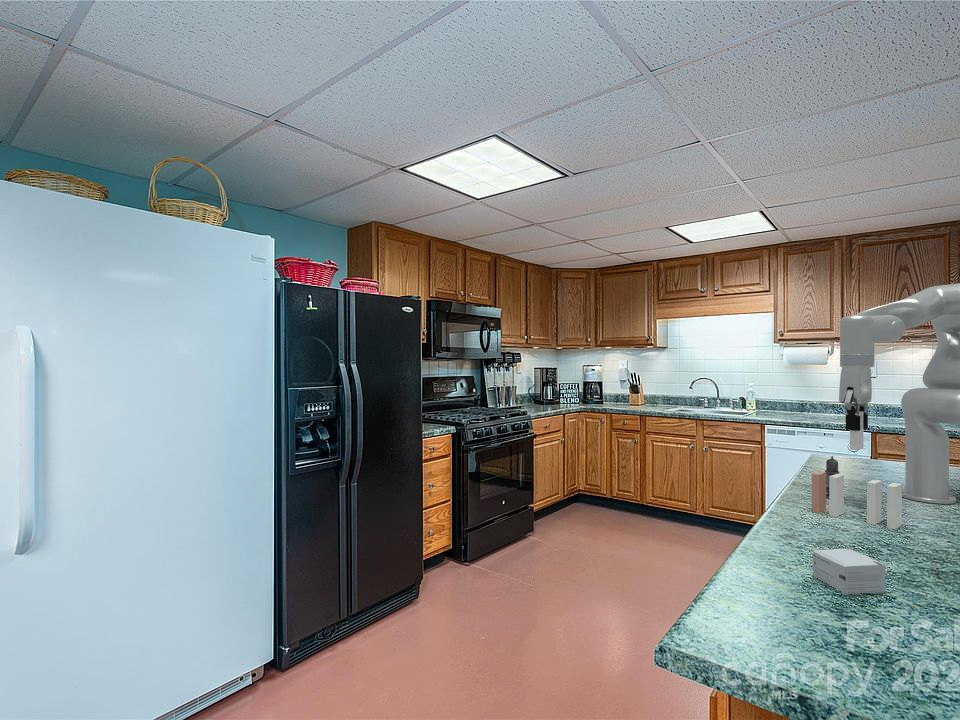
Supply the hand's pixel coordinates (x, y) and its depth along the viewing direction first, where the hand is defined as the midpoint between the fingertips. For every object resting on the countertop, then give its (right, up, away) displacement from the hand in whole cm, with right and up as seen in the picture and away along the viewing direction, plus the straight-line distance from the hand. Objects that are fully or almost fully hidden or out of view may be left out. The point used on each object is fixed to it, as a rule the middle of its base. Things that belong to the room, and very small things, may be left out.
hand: (856, 428), depth 139 cm
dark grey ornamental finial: (+1, -22, +11) cm, 24 cm away
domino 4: (-2, -21, -15) cm, 26 cm away
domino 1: (-9, -21, -6) cm, 24 cm away
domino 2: (0, -6, 0) cm, 6 cm away
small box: (-36, -22, -47) cm, 63 cm away
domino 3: (-5, -21, -12) cm, 25 cm away
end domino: (-12, -21, -3) cm, 25 cm away
